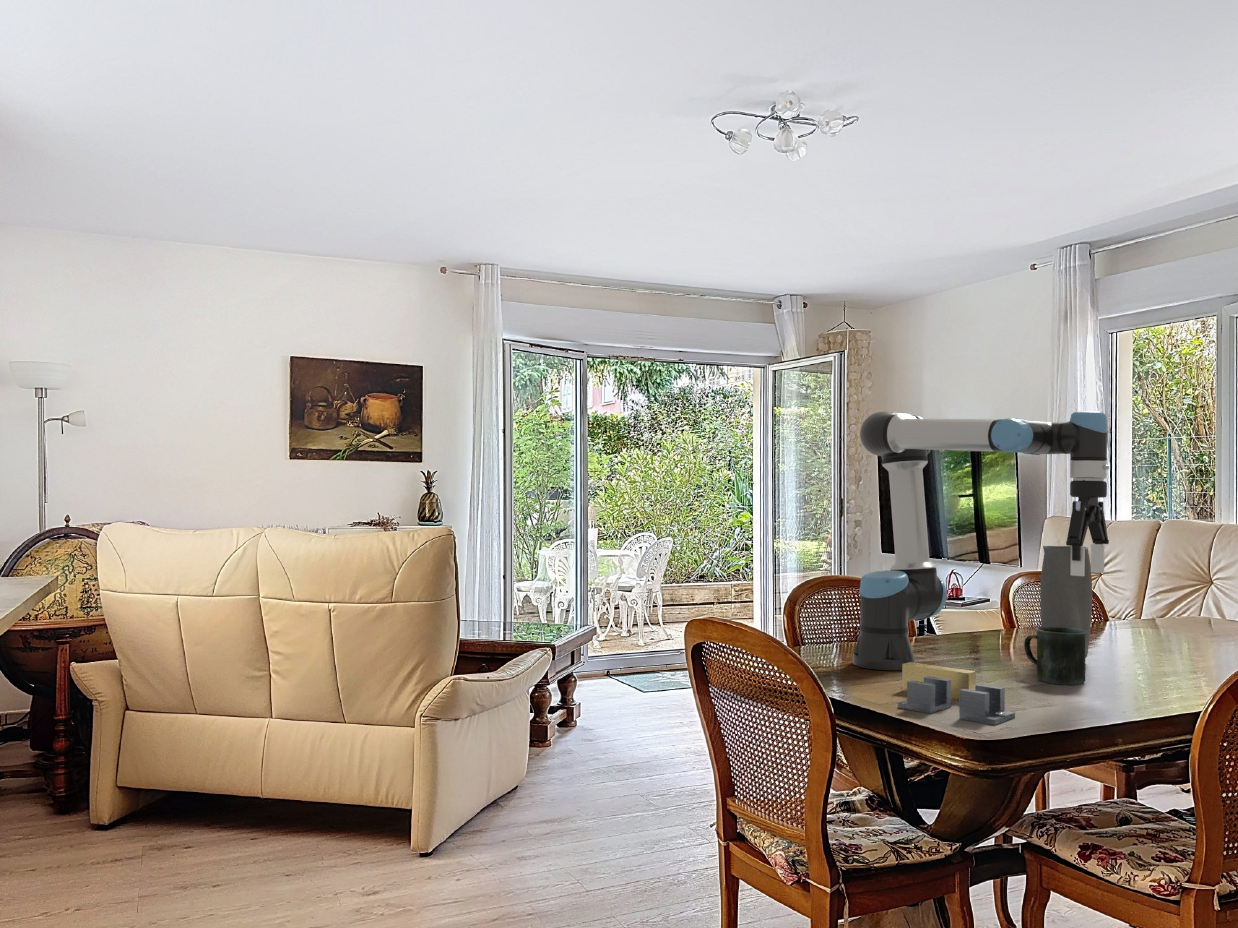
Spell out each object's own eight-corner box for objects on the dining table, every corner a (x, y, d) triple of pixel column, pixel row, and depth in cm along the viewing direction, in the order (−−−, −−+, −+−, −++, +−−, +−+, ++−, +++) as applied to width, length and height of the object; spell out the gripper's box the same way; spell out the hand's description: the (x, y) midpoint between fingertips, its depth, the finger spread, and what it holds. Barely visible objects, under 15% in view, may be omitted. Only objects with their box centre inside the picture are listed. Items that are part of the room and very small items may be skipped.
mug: (1071, 688, 220) (1071, 634, 220) (1012, 677, 232) (1012, 626, 232) (1096, 682, 226) (1096, 631, 227) (1037, 673, 238) (1037, 623, 238)
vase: (1089, 668, 245) (1089, 548, 246) (1036, 663, 251) (1036, 546, 252) (1095, 661, 255) (1095, 546, 256) (1044, 657, 262) (1044, 544, 263)
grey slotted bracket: (897, 707, 198) (898, 680, 198) (919, 701, 204) (919, 674, 204) (930, 713, 193) (930, 685, 193) (951, 706, 199) (951, 679, 199)
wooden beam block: (902, 691, 215) (902, 663, 215) (909, 689, 217) (909, 662, 218) (968, 702, 205) (968, 673, 205) (975, 699, 207) (975, 671, 207)
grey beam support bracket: (959, 718, 188) (959, 690, 189) (979, 711, 195) (979, 683, 195) (995, 725, 184) (995, 695, 184) (1014, 717, 190) (1014, 689, 190)
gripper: (1087, 479, 209) (1086, 578, 209) (1123, 480, 227) (1122, 572, 227) (1051, 478, 214) (1050, 575, 214) (1089, 480, 233) (1088, 569, 232)
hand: (1087, 574), depth 220 cm, fingers open, 13 cm apart
